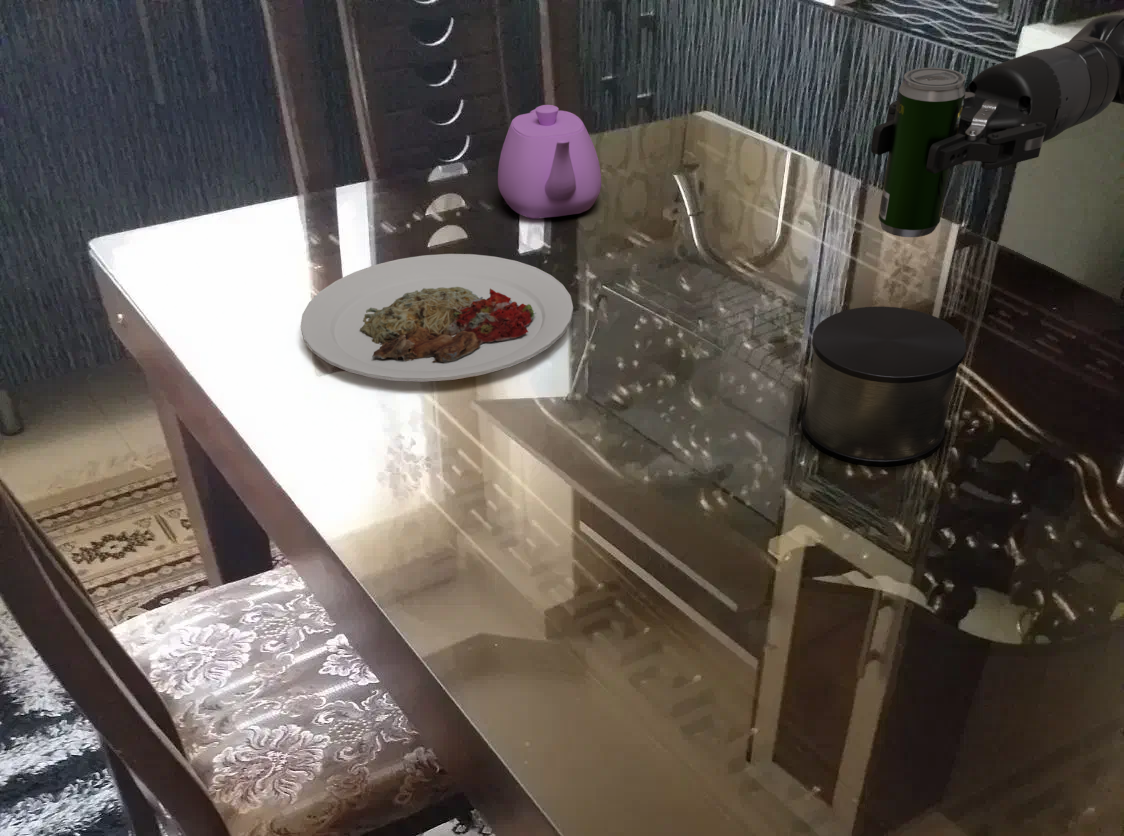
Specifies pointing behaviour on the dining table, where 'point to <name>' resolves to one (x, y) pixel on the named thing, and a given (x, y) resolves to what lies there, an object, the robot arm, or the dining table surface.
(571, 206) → the teapot
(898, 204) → the beer can
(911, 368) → the steel bin
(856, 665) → the dining table surface
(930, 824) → the dining table surface
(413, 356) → the plated food
